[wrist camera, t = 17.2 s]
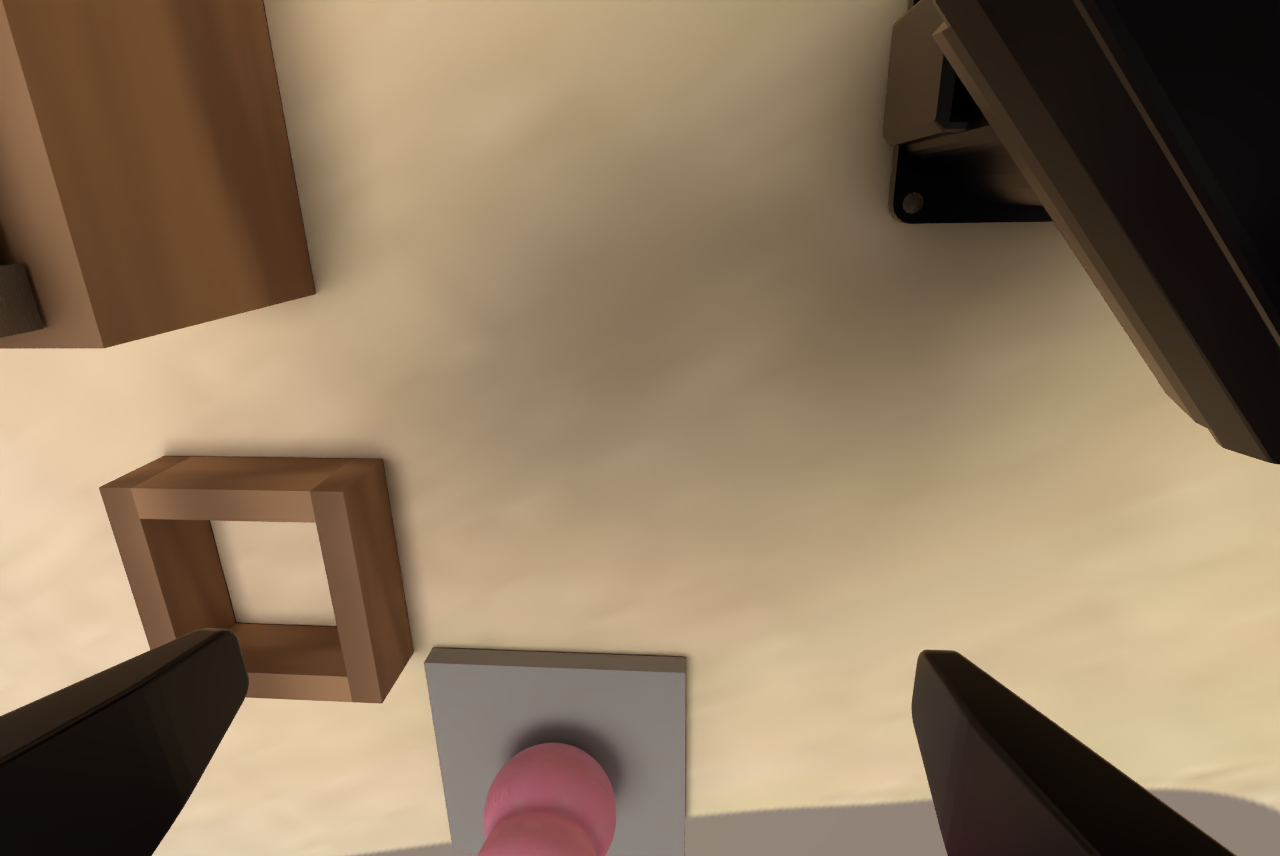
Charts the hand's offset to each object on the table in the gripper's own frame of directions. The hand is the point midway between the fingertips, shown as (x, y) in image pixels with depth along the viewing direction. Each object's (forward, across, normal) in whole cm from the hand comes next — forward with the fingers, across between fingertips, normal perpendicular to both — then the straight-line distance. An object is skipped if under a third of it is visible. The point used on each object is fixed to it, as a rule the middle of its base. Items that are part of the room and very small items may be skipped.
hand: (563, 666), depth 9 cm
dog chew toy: (+11, +3, +14) cm, 18 cm away
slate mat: (+12, +3, +14) cm, 18 cm away
